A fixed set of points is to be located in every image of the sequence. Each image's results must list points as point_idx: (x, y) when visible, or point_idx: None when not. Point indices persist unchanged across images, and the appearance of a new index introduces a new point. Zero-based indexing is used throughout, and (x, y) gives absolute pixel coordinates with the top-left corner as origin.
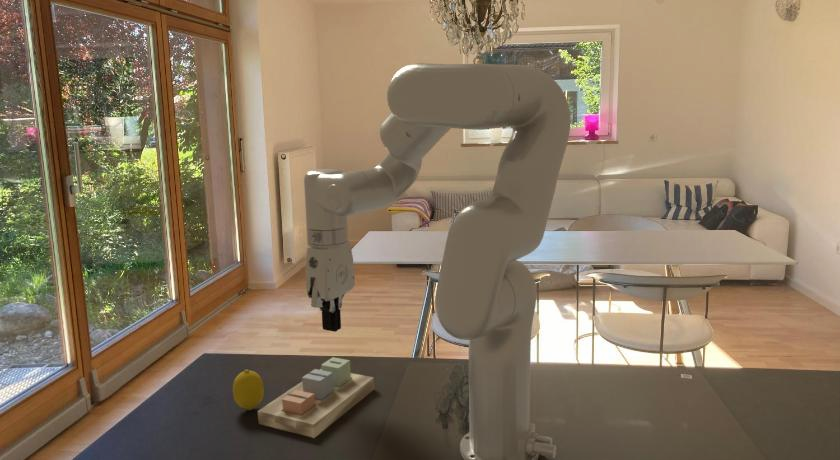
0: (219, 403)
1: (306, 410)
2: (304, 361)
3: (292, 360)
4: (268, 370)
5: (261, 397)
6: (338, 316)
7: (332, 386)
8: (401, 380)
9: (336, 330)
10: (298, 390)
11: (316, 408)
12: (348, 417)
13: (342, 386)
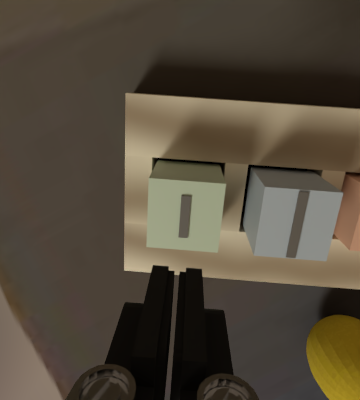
0: (312, 387)
1: None
2: (64, 339)
3: (72, 363)
4: None
5: (345, 319)
6: (161, 321)
7: (260, 173)
8: (44, 36)
9: (200, 269)
10: (353, 241)
11: None
12: (313, 81)
13: (218, 158)
